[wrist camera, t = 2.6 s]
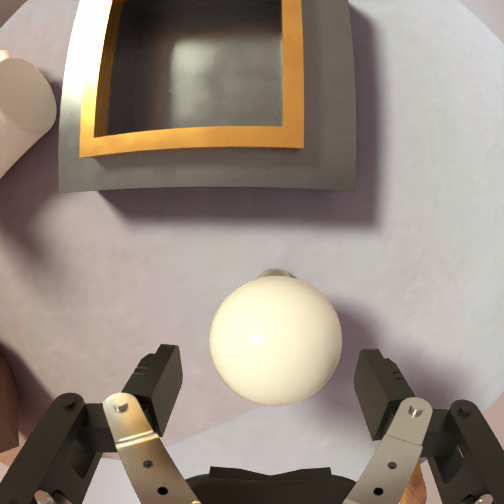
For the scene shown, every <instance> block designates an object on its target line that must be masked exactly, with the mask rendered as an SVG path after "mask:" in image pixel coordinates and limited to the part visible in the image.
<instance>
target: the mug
mask: <svg viewBox="0 0 504 504" xmlns="http://www.w3.org/2000/svg"><path fill="white" fill-rule="evenodd" d="M56 114H57V106H56V100H55V97H54V94H53V91H52V89H51V87H50V85H49V83H48V82H47V80H46V79H45V77H44V76H43V75H42V73H41V72H40V71H39V70H38V69H37V68H36V67H34V66H33V65H32V64H30V63H29V62H27V61H25V60H22V59H19V58H13V56H12V54H11V53H10V52H9V51H6V50H2V51H0V179H1V177H2V176H3V175H4V174H5V173H6V172H7V171H8V170H9V169H10V168H11V167H12V165H13V164H14V163H15V162H16V161H17V160H18V159H19V158H20V157H21V156H22V155H23V154H24V153H25V152H26V151H27V150H28V149H29V148H30V147H31V146H32V145H33V144H34V143H36V142H37V141H38V140H39V139H40V138H41V137H42V136H43V135H44V134H45V133H46V132H48V131H49V130H50V129H51V127H52V126H53V124H54V122H55V119H56Z"/></svg>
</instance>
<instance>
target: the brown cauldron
mask: <svg viewBox="0 0 504 504" xmlns="http://www.w3.org/2000/svg"><path fill="white" fill-rule="evenodd" d="M18 446H19V437H18V392H17V389H16V386H15V382H14V379H13V376H12V372H11V369H10V367H9V365H8V364H7V362H6V361H5V359H4V358H3V356H2V355H1V353H0V453H2V452H4V451H7V450H10V449H12V448H15V447H18Z"/></svg>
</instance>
